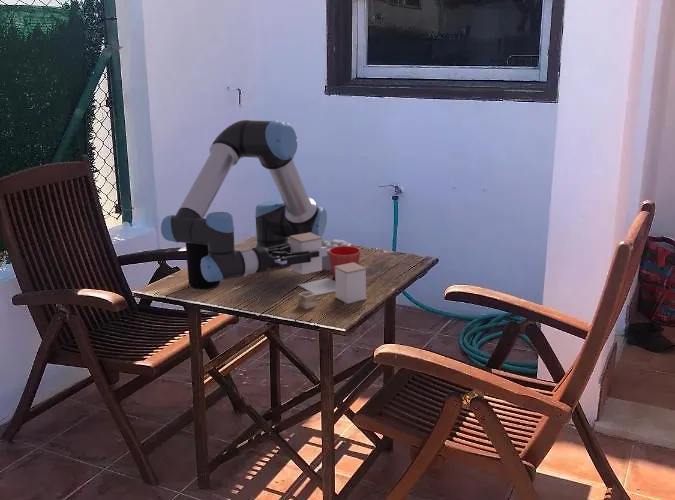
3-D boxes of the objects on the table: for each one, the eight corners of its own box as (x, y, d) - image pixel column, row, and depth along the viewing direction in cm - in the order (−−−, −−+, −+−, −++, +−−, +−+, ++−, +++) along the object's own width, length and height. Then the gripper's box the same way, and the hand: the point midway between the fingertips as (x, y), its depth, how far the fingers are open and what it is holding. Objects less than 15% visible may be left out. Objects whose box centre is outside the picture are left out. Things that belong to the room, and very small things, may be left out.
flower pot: (357, 282, 249) (357, 255, 246) (326, 280, 251) (325, 253, 248) (362, 272, 258) (362, 246, 256) (332, 271, 261) (332, 245, 258)
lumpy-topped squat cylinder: (354, 261, 271) (354, 239, 269) (339, 271, 260) (339, 248, 258) (329, 258, 276) (329, 236, 273) (314, 268, 265) (313, 245, 262)
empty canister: (334, 297, 235) (334, 266, 232) (353, 292, 239) (353, 262, 236) (347, 303, 229) (346, 272, 226) (366, 299, 233) (366, 268, 230)
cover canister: (290, 268, 226) (289, 235, 223) (310, 264, 230) (310, 232, 227) (302, 274, 220) (301, 241, 217) (323, 270, 224) (322, 237, 221)
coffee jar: (226, 281, 252) (223, 231, 246) (211, 291, 242) (207, 239, 237) (198, 278, 255) (195, 228, 250) (183, 288, 245) (178, 236, 240)
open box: (298, 306, 228) (297, 293, 227) (307, 302, 231) (307, 290, 230) (306, 309, 225) (306, 297, 224) (316, 306, 228) (315, 294, 227)
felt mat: (298, 285, 246) (298, 284, 246) (328, 279, 252) (328, 278, 252) (316, 295, 236) (316, 294, 236) (347, 288, 243) (347, 287, 242)
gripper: (239, 264, 224) (304, 252, 235) (269, 282, 207) (337, 267, 219) (238, 240, 221) (303, 229, 233) (268, 257, 205) (337, 243, 217)
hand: (319, 248), depth 226 cm, fingers closed on cover canister, 7 cm apart
